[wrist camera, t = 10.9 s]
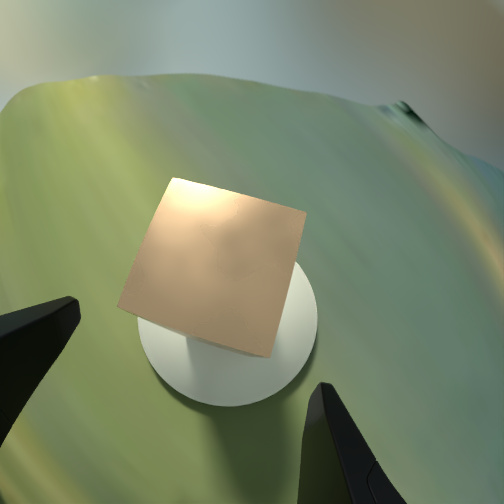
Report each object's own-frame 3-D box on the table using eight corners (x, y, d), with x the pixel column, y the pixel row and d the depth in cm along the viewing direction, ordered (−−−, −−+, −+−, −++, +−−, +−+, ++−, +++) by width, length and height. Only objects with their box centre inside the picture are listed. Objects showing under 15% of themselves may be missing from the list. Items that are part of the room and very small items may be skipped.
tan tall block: (249, 356, 20) (270, 358, 8) (185, 336, 20) (116, 306, 8) (267, 294, 22) (306, 212, 10) (205, 276, 22) (172, 177, 10)
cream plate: (332, 377, 21) (337, 378, 20) (162, 416, 19) (158, 419, 18) (286, 222, 26) (289, 216, 24) (133, 254, 24) (128, 249, 22)
